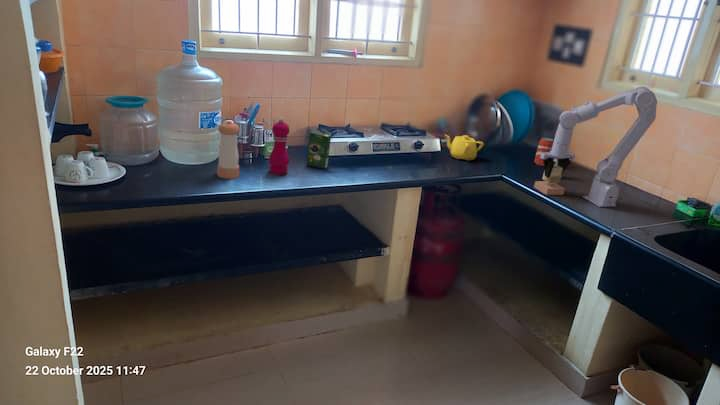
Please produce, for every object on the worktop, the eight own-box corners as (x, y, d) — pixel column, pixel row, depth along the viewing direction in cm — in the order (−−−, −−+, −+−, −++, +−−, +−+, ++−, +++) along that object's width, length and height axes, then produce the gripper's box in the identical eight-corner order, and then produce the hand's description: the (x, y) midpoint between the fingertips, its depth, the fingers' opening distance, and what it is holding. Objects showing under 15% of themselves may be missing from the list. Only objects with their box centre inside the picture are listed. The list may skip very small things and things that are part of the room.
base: (563, 194, 200) (565, 188, 199) (546, 195, 198) (548, 188, 197) (550, 186, 207) (552, 181, 206) (533, 187, 204) (535, 181, 203)
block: (559, 182, 200) (562, 168, 197) (549, 183, 198) (553, 168, 196) (552, 178, 204) (555, 164, 201) (542, 178, 202) (545, 164, 200)
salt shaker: (238, 171, 183) (239, 118, 176) (240, 178, 177) (241, 124, 170) (216, 171, 181) (217, 117, 173) (218, 178, 175) (218, 123, 167)
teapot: (462, 164, 222) (466, 141, 218) (440, 155, 231) (444, 132, 227) (481, 160, 231) (486, 138, 227) (459, 151, 239) (464, 130, 235)
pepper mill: (264, 171, 186) (266, 117, 178) (276, 167, 192) (279, 114, 184) (280, 176, 183) (283, 121, 175) (292, 172, 189) (296, 118, 181)
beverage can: (546, 163, 238) (552, 138, 234) (549, 167, 232) (556, 141, 228) (532, 161, 239) (539, 136, 234) (535, 165, 233) (542, 140, 228)
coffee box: (328, 167, 198) (331, 134, 193) (325, 169, 196) (328, 136, 190) (309, 163, 200) (312, 130, 195) (306, 165, 198) (308, 132, 193)
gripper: (570, 140, 201) (560, 172, 206) (539, 139, 196) (530, 172, 201) (582, 145, 195) (572, 179, 200) (550, 145, 190) (541, 179, 195)
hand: (552, 176), depth 200 cm, fingers closed on block, 5 cm apart
